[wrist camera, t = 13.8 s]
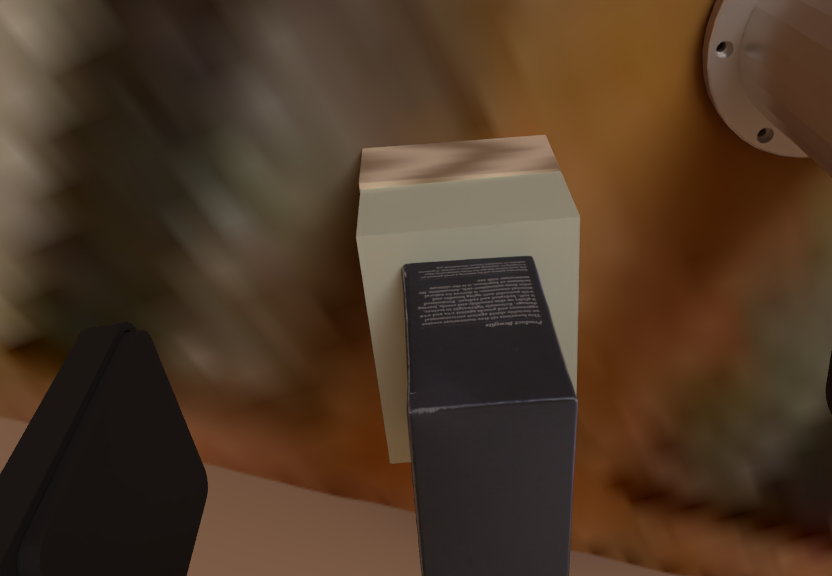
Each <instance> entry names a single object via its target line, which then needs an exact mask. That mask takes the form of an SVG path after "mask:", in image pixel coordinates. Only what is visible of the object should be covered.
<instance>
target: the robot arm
mask: <svg viewBox="0 0 832 576" xmlns="http://www.w3.org/2000/svg"><path fill="white" fill-rule="evenodd" d="M721 42H723V46H722V47H721V48H720V49H718V50H716V48H717V46H718V45H719V44H720V43H721ZM702 60H703V77H704V81H705V85H706V89H707V93H708V96H709V98H710V100H711V102H712V104H713V106H714V108H715V110H716V112H717V114H718V115H719V116H720V117H721V119H722V120H723V121H724V122H725V123H726V125H727V126H728V127H729V128H730V129H731V130H732V131H733V132H734V133H735V134H737V135H738V136H739V137H740V138H741V139H742V140H743V141H745V142H747V143H748V144H750V145H752V146H753V147H755V148H757V149H759V150H762V151H765V152H768V153H771V154H775V155H778V156H785V157H795V158H807V157H810V158H811V159H812V160H813V161H814V162H815V163H816V164H818V165H819V166H820V167H821V168H822V169H823V170H824V171H825V172H827V173H828V174H829V175H830V176H831V177H832V0H716V2H715V4H714V7H713V10H712V13H711V16H710V18H709V21H708V24H707V27H706V32H705V38H704V44H703V51H702ZM762 129H763V130H762ZM760 130H762V131H761V132H760V133H758V132H759V131H760ZM826 400H827V404H828V407H829V410H830V412H831V414H832V352H831V358H830V364H829V371H828V377H827V383H826ZM207 493H208V482H207V475H206V471H205V468H204V466H203V463H202V461H201V458H200V456H199V454H198V451H197V449H196V446H195V444H194V441H193V439H192V436H191V434H190V432H189V429H188V427H187V424H186V422H185V419H184V417H183V415H182V412H181V410H180V407H179V405H178V402H177V400H176V397H175V395H174V393H173V390H172V388H171V385H170V383H169V380H168V378H167V375H166V373H165V371H164V368H163V366H162V363H161V361H160V358H159V356H158V354H157V351H156V349H155V346H154V344H153V341H152V339H151V337H150V335H149V334H148V333H147V332H146V331H144V330H139V331H137V330H136V328H135V327H134V326H133V325H132V324H131V323H129V322H121V323H114V324H107V325H100V326H93V327H88V328H85V329H84V330H83V331H82V332H81V333H80V335H79V337H78V338H77V340H76V342H75V344H74V345H73V347H72V349H71V351H70V353H69V354H68V356H67V358H66V360H65V361H64V363H63V365H62V367H61V368H60V370H59V372H58V374H57V375H56V377H55V379H54V381H53V382H52V384H51V386H50V388H49V389H48V391H47V393H46V395H45V396H44V398H43V400H42V402H41V404H40V405H39V407H38V409H37V411H36V412H35V414H34V416H33V418H32V419H31V421H30V423H29V425H28V426H27V428H26V430H25V432H24V433H23V435H22V437H21V439H20V441H19V442H18V444H17V446H16V448H15V449H14V451H13V453H12V455H11V456H10V458H9V460H8V462H7V463H6V465H5V467H4V469H3V470H2V472H1V474H0V576H187V572H188V568H189V564H190V560H191V556H192V552H193V549H194V545H195V541H196V537H197V533H198V529H199V525H200V522H201V517H202V514H203V510H204V506H205V502H206V498H207Z"/></svg>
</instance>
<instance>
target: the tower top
mask: <svg viewBox="0 0 832 576" xmlns="http://www.w3.org/2000/svg"><path fill="white" fill-rule="evenodd" d="M356 240H357V247H358V254H359V260H360V267H361V273H362V280H363V287H364V293H365V300H366V307H367V313H368V320H369V327H370V333H371V340H372V346H373V353H374V360H375V366H376V373H377V380H378V386H379V393H380V400H381V406H382V413H383V419H384V426H385V433H386V439H387V446H388V453H389V459H390V464H394V463H406V462H411V457H410V446H409V434H408V421H407V387H408V384H407V383H408V382H407V363H406V340H405V318H404V301H403V284H402V273H401V269H402V267H403V266H404V265H405V264H409V263H422V262H438V261H451V260H465V259H481V258H497V257H514V256H532V257H533V259H534V262H535V265H536V268H537V271H538V274H539V278H540V281H541V285H542V288H543V292H544V295H545V298H546V301H547V304H548V307H549V310H550V314H551V317H552V321H553V324H554V327H555V330H556V334H557V337H558V340H559V343H560V346H561V349H562V353H563V356H564V359H565V363H566V366H567V369H568V372H569V375H570V378H571V381H572V384H573V387H574V391H575V394H576V397H577V346H578V295H579V244H580V215H579V213H578V211H577V208H576V206H575V204H574V201H573V199H572V196H571V194H570V192H569V189H568V187H567V185H566V182H565V180H564V178H563V175H562V173H561V171H555V172H544V173H533V174H522V175H512V176H501V177H490V178H479V179H468V180H457V181H447V182H436V183H425V184H414V185H403V186H393V187H382V188H371V189H361V191H360V201H359V211H358V221H357V232H356ZM575 448H576V446H575Z"/></svg>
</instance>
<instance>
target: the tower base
mask: <svg viewBox="0 0 832 576" xmlns="http://www.w3.org/2000/svg"><path fill="white" fill-rule="evenodd" d="M555 171H560V168H559V165H558V163H557V161H556V158H555V156H554V154H553V151H552V149H551V147H550V144H549V142H548V139H547V137H546V135H537V136H524V137H511V138H498V139H484V140H471V141H458V142H445V143H431V144H418V145H405V146H392V147H379V148H365V149H362V158H361V167H360V177H359V189H360V191H361V189H371V188H382V187H393V186H403V185H414V184H425V183H436V182H447V181H457V180H468V179H479V178H490V177H501V176H512V175H522V174H533V173H544V172H555Z"/></svg>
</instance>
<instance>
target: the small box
mask: <svg viewBox="0 0 832 576" xmlns="http://www.w3.org/2000/svg"><path fill="white" fill-rule="evenodd" d="M401 273H402V284H403V301H404V318H405V340H406V363H407V382H408V383H407V384H408V387H407V421H408V434H409V446H410V457H411V466H412V479H413V488H414V502H415V510H416V522H417V531H418V543H419V552H420V564H421V572H422V576H569V563H570V542H571V521H572V500H573V482H574V463H575V446H576V429H577V412H578V400H577V397H576V394H575V391H574V387H573V384H572V381H571V378H570V375H569V372H568V369H567V366H566V363H565V359H564V356H563V353H562V349H561V346H560V343H559V340H558V337H557V334H556V330H555V327H554V324H553V321H552V317H551V314H550V310H549V307H548V304H547V301H546V298H545V295H544V292H543V288H542V285H541V281H540V278H539V274H538V271H537V268H536V265H535V262H534V259H533V257H532V256H514V257H497V258H481V259H465V260H451V261H438V262H422V263H409V264H405V265H404V266H403V267H402V269H401Z"/></svg>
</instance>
